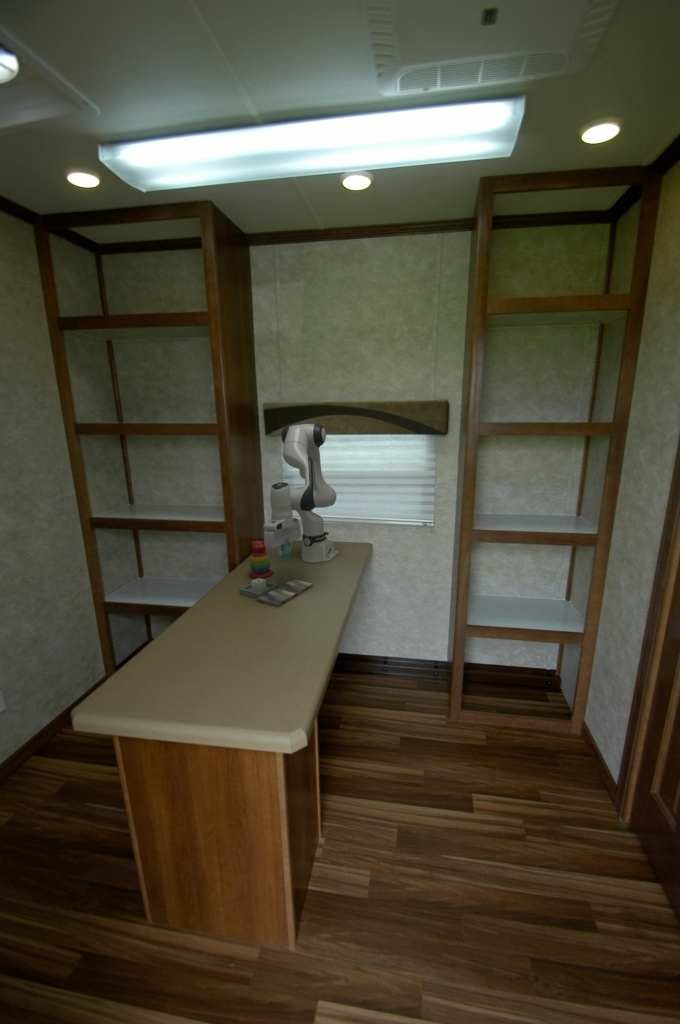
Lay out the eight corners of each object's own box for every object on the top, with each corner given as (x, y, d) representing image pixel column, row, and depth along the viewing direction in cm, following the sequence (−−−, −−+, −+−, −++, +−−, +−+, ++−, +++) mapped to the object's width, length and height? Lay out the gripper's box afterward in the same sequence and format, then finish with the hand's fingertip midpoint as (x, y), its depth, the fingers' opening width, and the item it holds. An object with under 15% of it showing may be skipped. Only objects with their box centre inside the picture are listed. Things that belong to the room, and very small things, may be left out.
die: (259, 587, 192) (258, 577, 191) (266, 589, 190) (265, 579, 189) (252, 590, 189) (251, 581, 188) (259, 593, 186) (258, 583, 185)
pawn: (284, 555, 186) (283, 534, 184) (292, 557, 183) (291, 535, 181) (277, 558, 182) (276, 537, 180) (285, 560, 180) (284, 538, 178)
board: (292, 581, 199) (292, 578, 199) (313, 586, 193) (313, 583, 192) (256, 601, 180) (256, 598, 179) (278, 607, 173) (277, 604, 173)
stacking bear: (274, 571, 213) (271, 537, 209) (269, 579, 203) (266, 543, 199) (253, 571, 214) (250, 537, 210) (247, 579, 204) (244, 543, 200)
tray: (258, 584, 197) (258, 579, 197) (278, 589, 191) (278, 584, 190) (239, 594, 188) (239, 588, 187) (259, 599, 181) (259, 594, 181)
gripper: (292, 516, 190) (294, 546, 192) (260, 526, 173) (262, 558, 176) (303, 517, 186) (305, 548, 189) (272, 527, 169) (274, 561, 172)
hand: (284, 553), depth 182 cm, fingers closed on pawn, 4 cm apart
